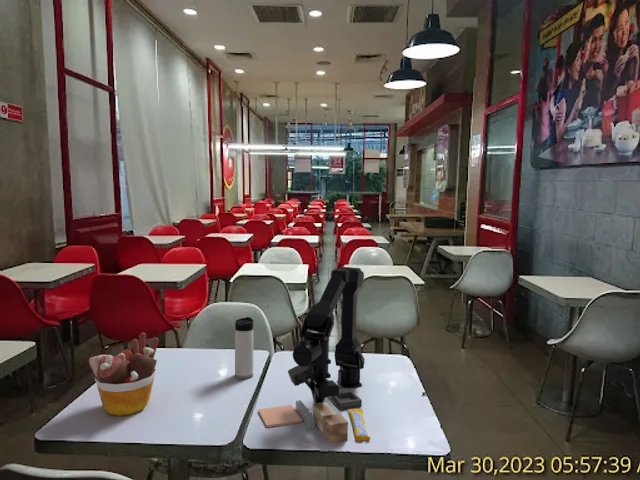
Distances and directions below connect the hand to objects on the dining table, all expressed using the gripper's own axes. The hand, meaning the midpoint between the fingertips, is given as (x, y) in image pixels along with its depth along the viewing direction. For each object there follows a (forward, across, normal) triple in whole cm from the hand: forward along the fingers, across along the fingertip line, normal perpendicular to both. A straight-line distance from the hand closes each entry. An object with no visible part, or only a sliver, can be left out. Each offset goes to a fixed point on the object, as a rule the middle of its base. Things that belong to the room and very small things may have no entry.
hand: (317, 408), depth 131 cm
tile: (+2, -2, -10) cm, 11 cm away
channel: (+2, +1, 0) cm, 2 cm away
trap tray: (+2, -4, +11) cm, 12 cm away
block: (+2, +13, 0) cm, 13 cm away
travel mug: (+2, -35, -14) cm, 38 cm away
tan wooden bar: (+2, +6, 0) cm, 6 cm away
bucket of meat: (+2, -22, -51) cm, 56 cm away
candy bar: (+3, +10, +9) cm, 13 cm away
